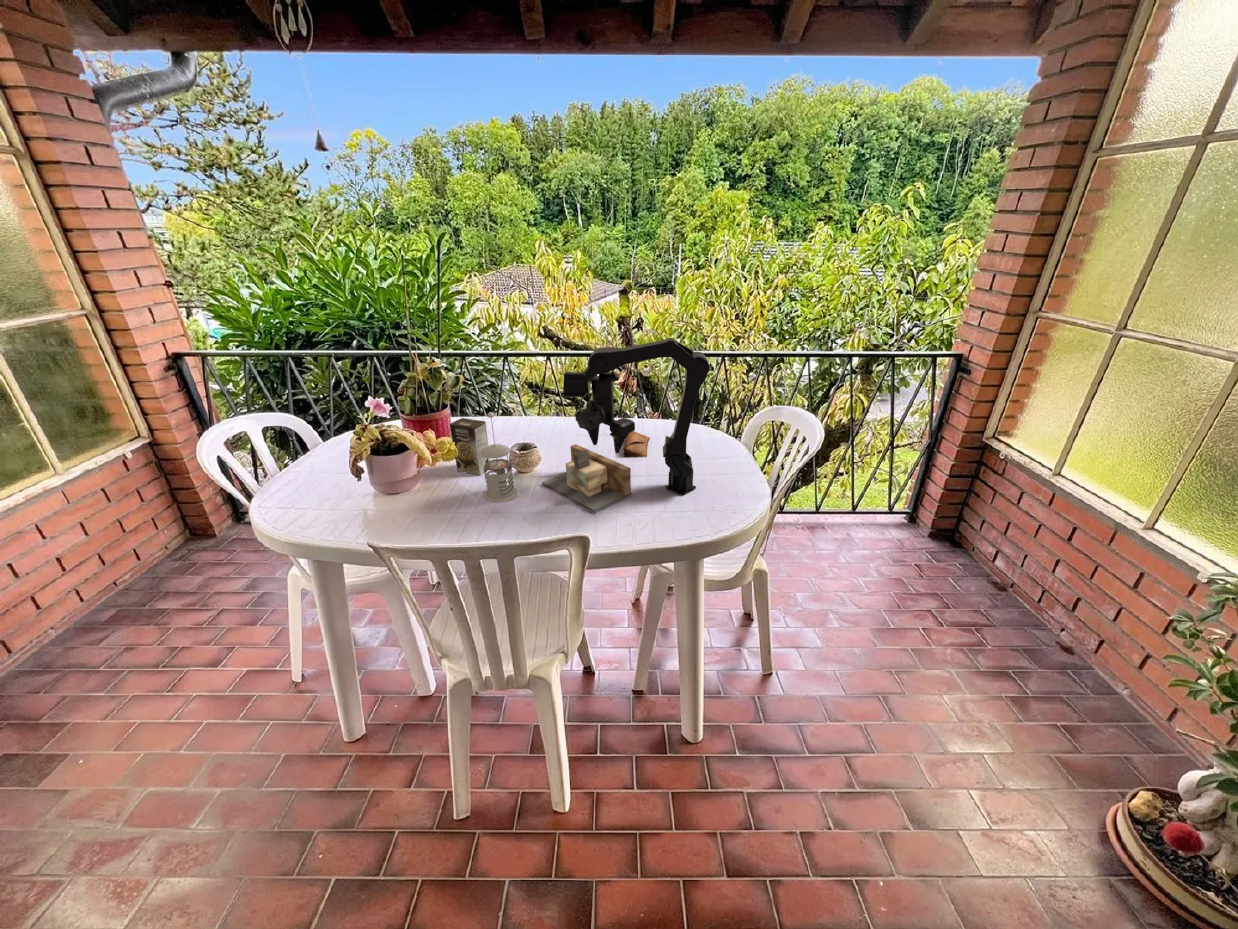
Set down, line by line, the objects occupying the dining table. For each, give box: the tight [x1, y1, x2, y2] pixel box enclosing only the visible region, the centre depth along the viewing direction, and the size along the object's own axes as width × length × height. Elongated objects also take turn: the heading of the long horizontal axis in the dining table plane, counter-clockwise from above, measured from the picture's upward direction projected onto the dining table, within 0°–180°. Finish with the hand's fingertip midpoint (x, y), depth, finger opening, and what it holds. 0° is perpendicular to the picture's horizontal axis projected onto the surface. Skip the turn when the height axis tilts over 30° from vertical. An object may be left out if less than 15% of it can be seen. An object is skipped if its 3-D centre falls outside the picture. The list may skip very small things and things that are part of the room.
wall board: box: [541, 444, 633, 515], centre depth 149 cm, size 24×14×9 cm, turn 43°
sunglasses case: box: [622, 430, 651, 458], centre depth 179 cm, size 18×7×7 cm
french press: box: [481, 411, 519, 504], centre depth 145 cm, size 10×12×25 cm
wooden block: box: [565, 451, 607, 497], centre depth 149 cm, size 10×7×11 cm
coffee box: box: [449, 417, 491, 476], centre depth 162 cm, size 9×6×16 cm
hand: (606, 449), depth 147 cm, fingers open, 9 cm apart
